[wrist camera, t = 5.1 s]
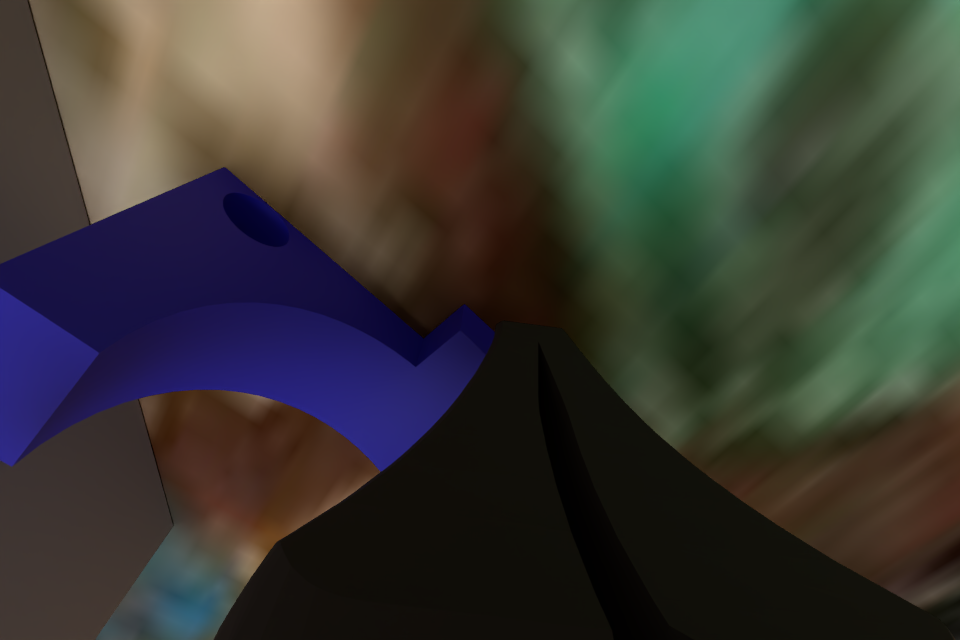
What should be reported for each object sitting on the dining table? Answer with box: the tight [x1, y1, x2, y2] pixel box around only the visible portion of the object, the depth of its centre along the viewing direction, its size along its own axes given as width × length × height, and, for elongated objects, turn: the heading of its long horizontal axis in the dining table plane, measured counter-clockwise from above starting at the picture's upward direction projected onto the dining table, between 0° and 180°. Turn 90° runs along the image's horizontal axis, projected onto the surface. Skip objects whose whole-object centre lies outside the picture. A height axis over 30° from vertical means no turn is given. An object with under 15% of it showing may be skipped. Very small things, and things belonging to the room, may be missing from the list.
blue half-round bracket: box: [0, 167, 495, 471], centre depth 11 cm, size 12×4×6 cm, turn 44°
